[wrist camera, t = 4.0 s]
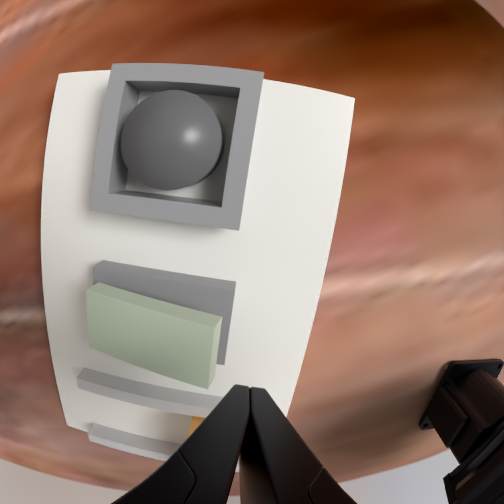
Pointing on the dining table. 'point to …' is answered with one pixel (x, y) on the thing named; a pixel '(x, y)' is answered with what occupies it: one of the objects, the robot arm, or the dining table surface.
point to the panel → (188, 241)
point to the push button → (172, 140)
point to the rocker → (153, 334)
